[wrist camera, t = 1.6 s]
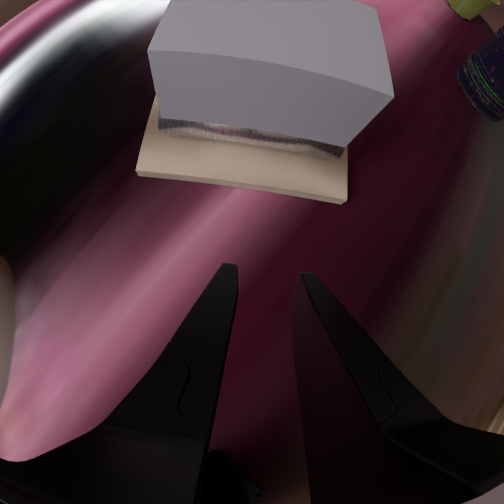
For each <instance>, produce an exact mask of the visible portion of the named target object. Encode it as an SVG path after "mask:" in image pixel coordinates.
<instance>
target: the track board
mask: <svg viewBox="0 0 504 504" xmlns="http://www.w3.org/2000/svg"><path fill="white" fill-rule="evenodd" d="M158 112H159V105H158V101H157V96H155V100H154V103H153V106H152V110H151V113H150V116H149V120H148V123H147V127H146V131H145V134H144V138H143V142H142V146H141V150H140V154H139V158H138V162H137V166H136V172H137V174H138V176H144V177H154V178H164V179H174V180H183V181H191V182H200V183H208V184H216V185H223V186H231V187H238V188H245V189H252V190H259V191H265V192H272V193H278V194H284V195H291V196H297V197H302V198H308V199H314V200H320V201H325V202H331V203H336V204H342V203H344V202H345V201H347V172H348V157H347V146H346V147H345V150H344V152H343V154H342V156H341V157H340V158H339V159H338V160H337V161H334V160H330V159H325V158H321V157H316V156H311V155H306V154H301V153H296V152H291V151H285V150H280V149H274V148H268V147H262V146H256V145H250V144H243V143H236V142H229V141H222V140H214V139H206V138H197V137H188V136H178V135H167V134H160V133H159V130H158Z"/></svg>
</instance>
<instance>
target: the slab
mask: <svg viewBox="0 0 504 504" xmlns="http://www.w3.org/2000/svg"><path fill="white" fill-rule="evenodd" d="M147 51H148V56H149V62H150V67H151V72H152V77H153V82H154V87H155V91H156V96H157V101H158V105H159V110H160V114H161V118H165V119H177V120H188V121H197V122H206V123H214V124H222V125H230V126H237V127H244V128H250V129H256V130H262V131H268V132H274V133H279V134H285V135H290V136H295V137H300V138H305V139H310V140H314V141H319V142H323V143H328V144H332V145H336V146H341V147H346V146H347V145H348V144H349V143H350V142H351V141H352V140H353V139H354V138H355V137H356V136H357V135H358V134H359V133H360V132H361V131H362V129H363V128H364V127H365V126H366V125H367V124H368V123H369V122H370V121H371V120H372V119H373V118H374V117H375V116H376V115H377V114H378V113H379V112H380V111H381V110H382V109H383V108H384V107H385V106H386V105H387V104H388V103H389V102H390V101H391V100H392V99H393V98H394V92H393V85H392V79H391V74H390V68H389V63H388V58H387V53H386V48H385V44H384V39H383V35H382V31H381V27H380V23H379V19H378V15H377V11H376V8H374V7H371V6H369V5H366V4H363V3H360V2H358V1H355V0H171V1H170V3H169V5H168V7H167V9H166V11H165V13H164V15H163V17H162V19H161V21H160V23H159V25H158V27H157V30H156V32H155V34H154V36H153V38H152V41H151V43H150V45H149V48H148V50H147Z"/></svg>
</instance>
